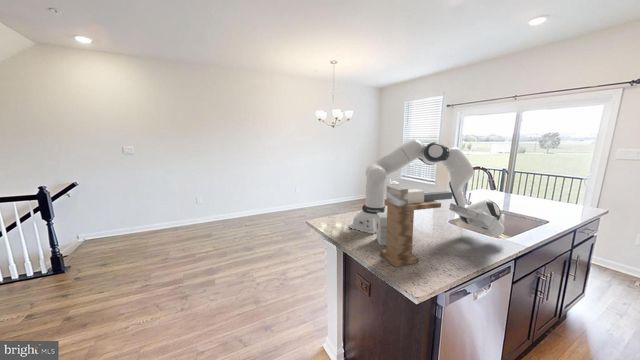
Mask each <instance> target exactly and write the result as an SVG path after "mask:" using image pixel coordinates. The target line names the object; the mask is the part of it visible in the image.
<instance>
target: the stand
mask: <svg viewBox="0 0 640 360" xmlns="http://www.w3.org/2000/svg"><path fill="white" fill-rule="evenodd" d="M408 190H409V189H408V188H407V187H403V186H400V185H399V186H396V185H389V184H388V185H386V194H385V195H386V197H385V198H386V199H385V202H384V206H385V205H386V207H387V208H386V209H387V210H386V213H387V236H386V245H385V249H380V250H379V255H380V256H381V257H382V258H383V259H385V260H386V261H387V262H388V263H389V264H391V265H392V267H394V268H395V267H399V266H400V267H401V266H406V265H413V264H418V263H419V260H420V259H419V257H417V256H416V255H414V254H413V241H414V240H413V238H414V237H413V236H414V218H415V217H414V215H415V213H414V212H415V211H418V210H419V211H421V210H429V209H437V208H438V209H439V208H441V207H442V202H440V201H438V200H434V201H424V202H420V203H410V204H408Z"/></svg>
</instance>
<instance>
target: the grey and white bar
mask: <svg viewBox="0 0 640 360" xmlns="http://www.w3.org/2000/svg"><path fill="white" fill-rule="evenodd" d="M452 199H453V195H452V192H451V191H449V190H446V191H435V192H434V191H433V192H425V190H424V189H423V190H422V189H419V188H411V189H408V204H410V203H420V202H424V201H443V200H452Z"/></svg>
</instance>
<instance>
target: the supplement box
mask: <svg viewBox="0 0 640 360" xmlns="http://www.w3.org/2000/svg"><path fill="white" fill-rule="evenodd" d="M386 236H387V212H385V213H381V212H380V213H377V232H376V241H377V243H378V245H379V246H386Z"/></svg>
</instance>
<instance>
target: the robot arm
mask: <svg viewBox="0 0 640 360" xmlns="http://www.w3.org/2000/svg"><path fill="white" fill-rule="evenodd" d="M417 159H418V160H420V161H421V162H422V163H424V164H426V165H428V166H433V165H436V164H438V163H441V164H442V165H444V166H445V168H446V169H447V171H448V173H449V176H450V181H449V182H448V185H449V188H450V192H452V198H453V200H454V202H455V204H454V203H452V202H451V203H450V204H449V208H448V210H449V211H451V212H453V213H455V214H456V215H457V216H459V218H460V220H461V222H463V223H465V224H466V225H469V226H471V227H473V228H474V229H476V230H479V231H480V232H481V233H483V234H484V235H486V236H489V237H493V238H495V237H499V236H501V235H502V234H503V233H505V226H504V224H502V222H501V220H500V219H501V215H502V214H501V209H500V207H499V205H498V204H497V203H496V202H494V201H493V200H490V199H483V200H481V201H478V202H476V203H472V204H470V205H468V203H467V201H466V199H465V196H464V193H463V188H464V186H465V185H466V184H467V183H468V182H469V181H470V180H471V179H472V177H473V176H474V167H473V166H472V164H471V162H470V161H469V159H468V157H467V156H466V155H465V154H464V152H462V151H461V149H460V148H459V147H455V146H454V147H447V146H445V145H444V144H442V143H440V142H437V141H434V142H430V143H428V144H427V145H425V144H423V143H422V142H421V141H420V140H419V139H414V138H413V139H411V140H409V141H407V142H404V143H403V144H401V145H399V147H397V148H395V149H393V150H392V151H391V152H389V153H388V154H387V155H384V156H382V157H380V158H379V159H378V160H376V161H374V162H372V163H371V164H370V165H368V166H367V167H366V169H365V176H366V184H365V185H366V187H365V203H364V204H363V205H362V207H361V210H362V211H360V212H359V213H356V214H355V216H354V217H353V218H352V221H351V222H350V223H349V226H348V228H349V227H350V228H352V229H351V230H354V229H356V230H355V231H358V230H360V232H363V231H364V232H363V233H368V234H374V233H377V213H380V212H381V213H386V206H385V200H386V199H385V198H386V197H385V195H386V189H387V176H389V175H391V174H393V173H396V172H398V171H399V170H401V169H403V168H404V167H406V166H407V165H409V164H410V163H412V162H413V161H415V160H417ZM350 228H349V229H350Z"/></svg>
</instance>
